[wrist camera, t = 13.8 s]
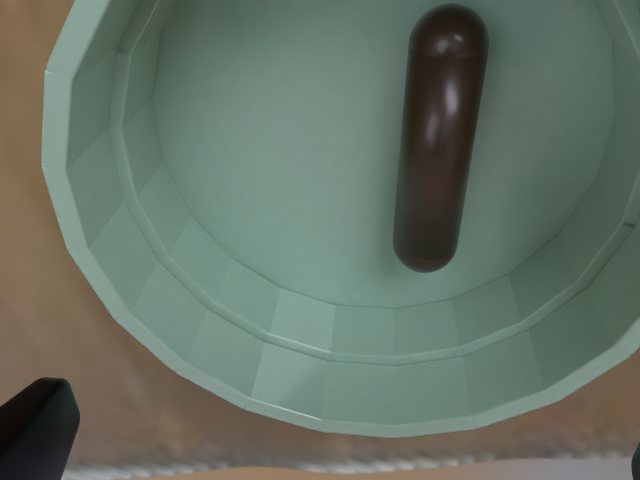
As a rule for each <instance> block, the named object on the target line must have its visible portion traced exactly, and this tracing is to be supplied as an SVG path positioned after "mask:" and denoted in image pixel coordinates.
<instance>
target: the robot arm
mask: <svg viewBox="0 0 640 480" xmlns="http://www.w3.org/2000/svg"><path fill="white" fill-rule="evenodd" d="M79 422H80V412H79V408H78V406H77V403H76V400H75V397H74V395H73V392H72V389H71V386H70V384H69V382H68V381H67V380H65V379H62V378H49V377H44V378H40V379H38V380H36V381H35V382H33V383H32V384H30V385H29V386H28V387H26V388H25V389H24V390H22V391H21V392H20V393H18V394H17V395H16V396H14V397H13V398H11V399H10V400H9V401H7V402H6V403H5V404H3V405H2V406H1V407H0V480H61V478H62V475H63V472H64V469H65V466H66V463H67V460H68V457H69V454H70V451H71V448H72V445H73V442H74V439H75V436H76V433H77V429H78V426H79ZM632 475H633V480H640V443H639V445H638V447H637V449H636V451H635V453H634V455H633V458H632Z"/></svg>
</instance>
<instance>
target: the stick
mask: <svg viewBox="0 0 640 480" xmlns="http://www.w3.org/2000/svg"><path fill="white" fill-rule="evenodd" d="M488 51H489V34H488V30H487V27H486V25H485V23H484V22H483V20H482V18H481V17H480V16H479V15H478V14H477V13H476V12H475V11H474V10H472V9H470V8H469V7H467V6H464V5H460V4H454V3H450V4H443V5H439V6H437V7H434V8H432V9H430V10H429V11H428V12H426V13H425V14H423V15H422V17H421V18H420V19H419V20H418V21H417V23H416V24H415V26H414V27H413V30H412V32H411V35H410V38H409V44H408V57H407V69H406V81H405V94H404V106H403V118H402V131H401V143H400V155H399V167H398V180H397V192H396V204H395V217H394V229H393V248H394V251H395V254H396V256H397V258H398V259H399V260H400V262H401V263H402V264H403V265H404V266H406V267H407V268H409V269H411V270H413V271H416V272H420V273H430V272H435V271H438V270H440V269H442V268H443V267H445V266H446V265H447V264H448V263H449V262H450V261H451V260H452V258H453V257H454V255H455V253H456V250H457V246H458V240H459V233H460V227H461V221H462V214H463V208H464V202H465V196H466V189H467V183H468V177H469V171H470V164H471V158H472V152H473V145H474V139H475V133H476V127H477V120H478V114H479V108H480V102H481V95H482V89H483V83H484V76H485V70H486V64H487V58H488Z"/></svg>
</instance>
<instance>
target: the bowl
mask: <svg viewBox="0 0 640 480" xmlns="http://www.w3.org/2000/svg"><path fill="white" fill-rule="evenodd" d="M450 3H454V4H460V5H464V6H467V7H469V8H470V9H472V10H474V11H475V12H476V13H477V14H478V15H479V16H480V17H481V18H482V20H483V22H484V23H485V25H486V27H487V30H488V34H489V51H488V58H487V64H486V70H485V76H484V83H483V89H482V95H481V102H480V108H479V114H478V120H477V127H476V133H475V139H474V145H473V152H472V158H471V164H470V171H469V177H468V183H467V189H466V196H465V202H464V208H463V214H462V221H461V227H460V233H459V240H458V246H457V250H456V253H455V255H454V257H453V258H452V260H451V261H450V262H449V263H448V264H447V265H446V266H445V267H443V268H442V269H440V270H438V271H435V272H430V273H420V272H416V271H413V270H411V269H409V268H407V267H406V266H404V265H403V264H402V263H401V262H400V260H399V259H398V258H397V256H396V254H395V251H394V248H393V229H394V217H395V204H396V192H397V180H398V167H399V155H400V143H401V131H402V118H403V106H404V94H405V81H406V69H407V57H408V44H409V38H410V35H411V32H412V30H413V27H414V26H415V24H416V23H417V21H418V20H419V19H420V18H421V17H422V15H423V14H425V13H426V12H428V11H429V10H430V9H432V8H434V7H437V6H439V5H443V4H450ZM41 166H42V172H43V175H44V178H45V181H46V184H47V188H48V191H49V194H50V197H51V201H52V204H53V207H54V210H55V214H56V217H57V220H58V223H59V227H60V230H61V233H62V236H63V240H64V243H65V246H66V249H67V250H68V252H69V254H70V256H71V257H72V258H73V260H74V261H75V263H76V264H77V266H78V267H79V269H80V270H81V272H82V273H83V275H84V276H85V278H86V279H87V281H88V282H89V284H90V285H91V287H92V288H93V290H94V291H95V293H96V294H97V295H98V297H99V298H100V300H101V301H102V303H103V304H104V306H105V307H106V309H107V310H108V312H109V313H110V315H111V316H112V318H114V319H115V321H116V322H117V323H118V324H119V325H121V326H122V327H123V328H124V329H125V330H126V331H127V332H129V333H130V334H131V335H132V336H133V337H134V338H135V339H137V340H138V341H139V342H140V343H141V344H142V345H143V346H145V347H146V348H147V349H148V350H149V351H150V352H151V353H152V354H154V355H155V356H156V357H157V358H158V359H159V360H160V361H162V362H163V363H164V364H165V365H166V366H167V367H168V368H170V369H171V370H172V371H175V373H176V374H178V375H180V376H182V377H184V378H185V379H187V380H189V381H191V382H193V383H195V384H197V385H199V386H200V387H202V388H204V389H206V390H208V391H210V392H212V393H213V394H215V395H217V396H219V397H221V398H223V399H225V400H226V401H228V402H230V403H232V404H234V405H236V406H238V407H239V408H242V409H243V408H244V410H247V411H250V412H253V413H257V414H260V415H264V416H267V417H271V418H274V419H277V420H281V421H284V422H288V423H291V424H294V425H298V426H301V427H305V428H308V429H312V430H315V431H318V430H319V432H329V433H340V434H352V435H364V436H376V437H387V438H397V437H398V438H402V437H411V436H420V435H428V434H437V433H446V432H454V431H463V430H472V429H476V428H481V427H484V426H487V425H490V424H493V423H496V422H499V421H502V420H505V419H508V418H511V417H514V416H517V415H520V414H523V413H526V412H529V411H532V410H535V409H538V408H541V407H544V406H547V405H550V404H553V403H555V402H556V401H557V402H558V401H560V400H561V399H563V398H565V397H566V396H568V395H569V394H571V393H573V392H574V391H576V390H578V389H579V388H581V387H582V386H584V385H586V384H587V383H589V382H590V381H592V380H594V379H595V378H597V377H598V376H600V375H602V374H603V373H605V372H606V371H608V370H610V369H611V368H613V367H615V366H616V365H618V364H619V363H621V362H623V361H624V360H626V359H627V358H629V357H630V355H632V354H633V353H634V352H635V351H636V350H637V349H638V348H639V347H640V0H74V2H73V4H72V7H71V9H70V11H69V14H68V16H67V18H66V21H65V23H64V25H63V28H62V30H61V32H60V34H59V37H58V39H57V41H56V44H55V46H54V48H53V51H52V53H51V55H50V57H49V60H48V62H47V64H46V69H45V71H44V93H43V119H42V145H41Z"/></svg>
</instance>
